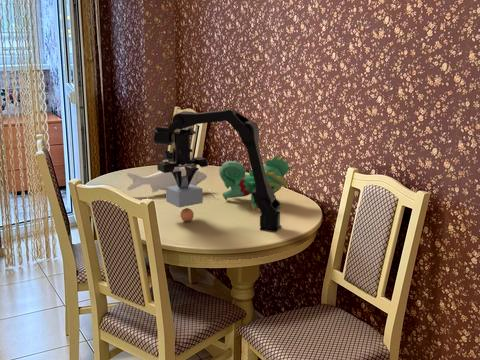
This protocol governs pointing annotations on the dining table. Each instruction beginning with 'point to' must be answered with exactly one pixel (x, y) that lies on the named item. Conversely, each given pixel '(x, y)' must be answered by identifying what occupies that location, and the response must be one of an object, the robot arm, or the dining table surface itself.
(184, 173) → the fish
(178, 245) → the dining table surface
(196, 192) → the block with rounded knob
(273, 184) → the toy
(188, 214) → the ball
